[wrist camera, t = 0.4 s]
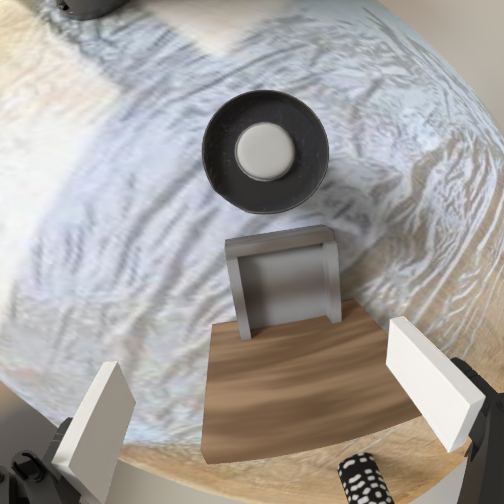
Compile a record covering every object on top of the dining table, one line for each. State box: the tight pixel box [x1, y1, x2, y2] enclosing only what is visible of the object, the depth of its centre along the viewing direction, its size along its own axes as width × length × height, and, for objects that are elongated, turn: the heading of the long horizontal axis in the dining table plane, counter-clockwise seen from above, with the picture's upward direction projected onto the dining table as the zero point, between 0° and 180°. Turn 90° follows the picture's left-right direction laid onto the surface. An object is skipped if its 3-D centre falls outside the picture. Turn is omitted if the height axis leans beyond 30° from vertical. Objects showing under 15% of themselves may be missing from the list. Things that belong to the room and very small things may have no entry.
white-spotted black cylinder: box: [337, 453, 395, 504], centre depth 42 cm, size 8×8×20 cm
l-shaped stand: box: [201, 225, 422, 464], centre depth 29 cm, size 13×20×22 cm, turn 99°
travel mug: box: [202, 90, 329, 214], centre depth 26 cm, size 8×8×20 cm
